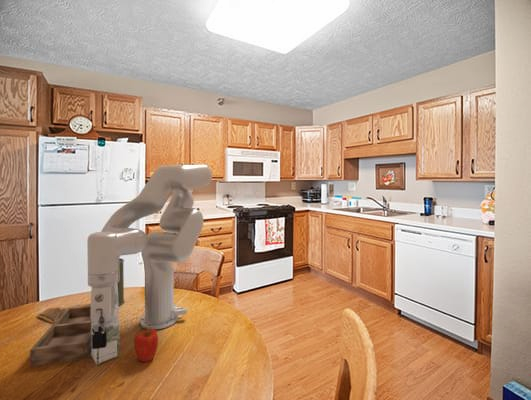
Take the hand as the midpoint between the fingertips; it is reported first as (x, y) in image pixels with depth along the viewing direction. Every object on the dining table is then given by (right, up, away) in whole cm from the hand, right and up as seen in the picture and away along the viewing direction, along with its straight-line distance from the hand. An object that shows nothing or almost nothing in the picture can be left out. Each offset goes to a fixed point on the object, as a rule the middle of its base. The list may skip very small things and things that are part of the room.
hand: (104, 337), depth 76 cm
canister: (-17, -4, +33) cm, 37 cm away
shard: (-31, -4, +23) cm, 39 cm away
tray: (-14, -5, +10) cm, 18 cm away
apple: (+12, -6, 0) cm, 13 cm away
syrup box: (0, -6, +1) cm, 6 cm away
